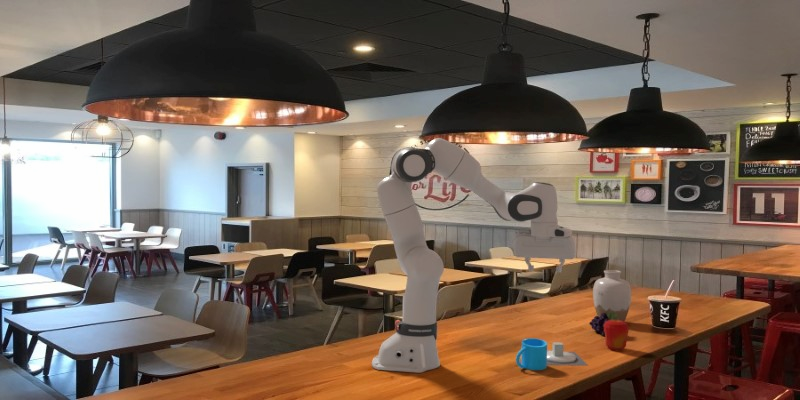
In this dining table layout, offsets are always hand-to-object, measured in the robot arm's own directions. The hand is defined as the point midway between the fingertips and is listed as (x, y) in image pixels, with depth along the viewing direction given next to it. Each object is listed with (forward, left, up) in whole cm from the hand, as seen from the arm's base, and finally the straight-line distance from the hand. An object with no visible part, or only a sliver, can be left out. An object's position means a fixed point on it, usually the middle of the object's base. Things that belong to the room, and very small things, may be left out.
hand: (544, 271), depth 207 cm
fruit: (+35, +41, -31) cm, 62 cm away
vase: (+44, +61, -31) cm, 81 cm away
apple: (+31, +18, -31) cm, 47 cm away
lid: (+6, +3, -30) cm, 31 cm away
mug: (-6, -8, -31) cm, 32 cm away
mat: (+6, +3, -31) cm, 32 cm away
